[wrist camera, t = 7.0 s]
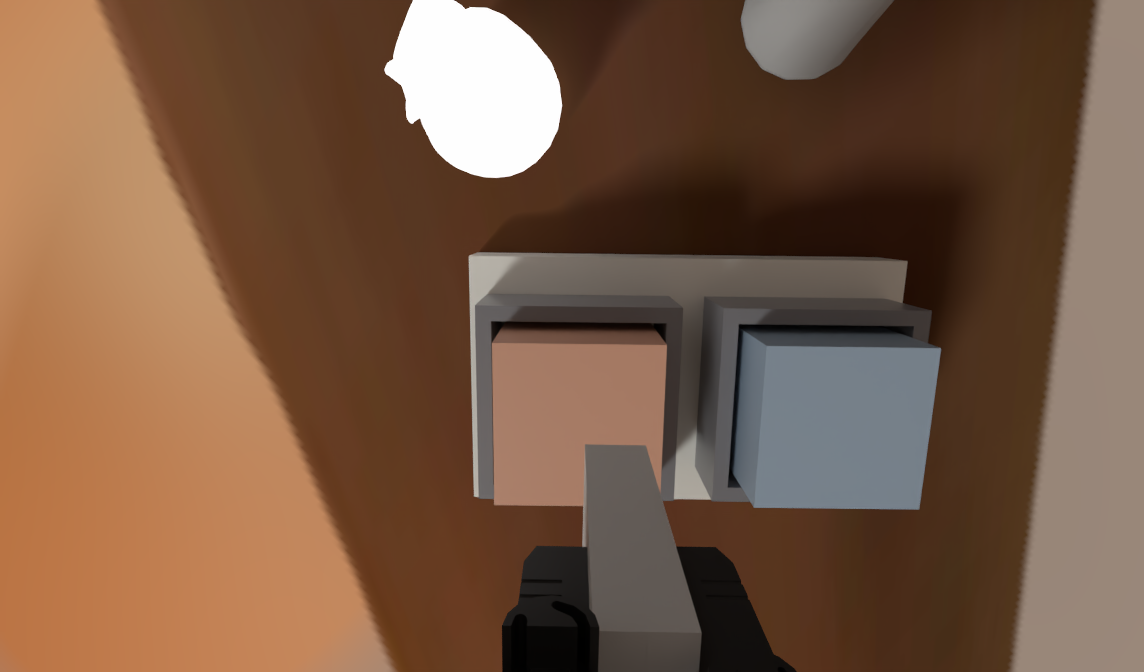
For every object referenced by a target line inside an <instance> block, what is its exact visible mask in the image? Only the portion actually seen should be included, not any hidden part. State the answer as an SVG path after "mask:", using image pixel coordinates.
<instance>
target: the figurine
mask: <svg viewBox="0 0 1144 672" xmlns="http://www.w3.org/2000/svg"><path fill="white" fill-rule="evenodd" d="M393 57H394V59H393V60H391V61H390V62H388V63H387V65H386V67H385V72H386V74H387V75H389V76H390V77H391V78H393V79H394V80H395V81H396V82H398V83H399V84H400V85H402V88H403V91H404V94H405V97H406V116H407V119H408V121H409V122H410V123H412V124H413V123H414V121H416V120H417V119H419V118H420V119H421V122H422V125H423V127H424V129H425V131H426V133H427V135H428V137H429V139H430V141H431V143H432V145H433V147H434V148H435V150H436V151H437V152H438V153H439V154H440V155H441V156H442V157H443V158H444V159H445V160H446V161H448V162H449V163H450V164H452V165H453V166H455V167H456V168H458V169H461V170H463V171H465V172H468V173H470V174H474V175H478V176H482V177H495V178H498V177H506V176H512V175H514V174H517V173H520V172H522V171H524V170H526V169H527V168H528V167H530V166H531V165H533V164H534V163H535V162H537V161H538V160H539V159H540V157H541V156H542V155H543V154H544V153H545V151H546V150H547V149H548V148H549V147H550V145H551V143H552V141H553V138H554V136H555V134H556V132H557V130H558V126H559V120H560V114H561V108H562V102H561V94H560V86H559V81H558V79H557V76H556V74H555V71H554V68H553V66H552V63H551V62H550V60H549V59H548V58H547V56H546V55H545V54H544V53H543V51H542V50H541V49H540V48H539V47H538V45H537V44H536V43H535V42H534V41H533V40H532V39H531V37H530V36H529V35H527V34H526V33H525V32H524V31H523V30H522V29H521V28H519V27H518V26H517V25H516V24H514V23H513V22H512V21H511V20H509V19H508V18H507V17H506V16H504V15H503V14H501V13H498V12H496V11H493V10H491V9H488V8H476V7H470V8H468V9H465V8H464V7H463V6H462V5H460V4H459V3H457V2H456V1H454V0H413V2H412V4H411V6H410V8H409V11H408V13H407V16H406V19H405V21H404V24H403V27H402V29H401V32H400V35H399V38H398V41H397V44H396V48H395V51H394V56H393Z"/></svg>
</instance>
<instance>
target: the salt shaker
mask: <svg viewBox="0 0 1144 672" xmlns="http://www.w3.org/2000/svg"><path fill="white" fill-rule="evenodd" d="M893 1H894V0H745V3H744V8H743V12H742V16H741V25H742V30H743V35H744V40H745V45H746V48H747V49H748V51H749V52H750V53H751V55H752V56H753V58H754V59H755V60H756V62H757V63H758V65H759V66H760V67H761V69H763V70H765V71H767V72H769V73H772V74H774V75H776V76H778V77H780V78H782V79H816V78H817V77H819V76H821V75H823V74H824V73H826V72H828V71H830V70H832V69H833V68H835V67H837V66H839V65H840V64H841V63H842V62H843V61H844V59H845V58H846V57H847V56H848V54H849V53H850V52H851V51H852V50H853V48H854V47H855V46H856V45H857V43H858V42H859V41H860V40H861V39H862V37H863V36H864V35H865V34H866V33H867V32H868V30H869V29H870V28H871V27H872V26H873V25H874V23H875V22H876V21H877V20H878V19H879V18H880V16H881V15H882V14H883V13H884V12H885V11H886V9H887V8H888V7H889V6H890V5H891V3H892V2H893Z"/></svg>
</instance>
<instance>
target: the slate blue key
mask: <svg viewBox="0 0 1144 672" xmlns="http://www.w3.org/2000/svg"><path fill="white" fill-rule="evenodd" d="M940 353H941V348H939V347H937V346H934V345H931V344H928V343H925V342H923V341H920V340H917V339H914V338H911V337H909V336H906V335H903V334H900V333H897V332H895V331H892V330H889V329H886V328H883V327H880V326H854V325H770V324H739V329H738V343H737V358H736V373H735V387H734V402H733V417H732V431H731V446H730V461H729V468H730V470H731V471H732V473H733V475H734V476H735V478H736V479H737V481H738V483H739V484H740V486H741V487H742V489H743V491H744V492H745V494H746V495H747V497H748V499H749V500H750V502H751V503H752V505H753V507H754V508H842V509H919V506H920V499H921V492H922V484H923V477H924V470H925V463H926V455H927V448H928V441H929V433H930V426H931V419H932V411H933V404H934V397H935V390H936V382H937V375H938V368H939V360H940Z"/></svg>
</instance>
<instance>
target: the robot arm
mask: <svg viewBox="0 0 1144 672" xmlns="http://www.w3.org/2000/svg"><path fill="white" fill-rule="evenodd" d="M502 665H503V672H796V670H795V669H794V668H793V667H792V666H790V665H789V664H788V663H786V662H785V661H784V660H782V659H781V658H780V657H778V656H776V655H774V654H773V652H772V650H771V648H770V645H769V643H768V641H767V639H766V636H765V634H764V632H763V630H762V627H761V625H760V623H759V620H758V618H757V616H756V614H755V611H754V609H753V607H752V605H751V602H750V600H748V596H747V593H746V591H745V589H744V587H743V585H741V580H740V578H739V575H738V573H737V571H736V569H735V566H734V564H733V563H732V562H731V561H730V560H729V559H728V558H727V557H726V556H725V555H724V554H722V553H721V552H720V551H719V550H718V549H717V548H716V547H676V545H675V542H674V538H673V535H672V532H671V528H670V525H669V521H668V518H667V515H666V511H665V508H664V505H663V501H662V498H661V495H660V491H659V488H658V485H657V481H656V478H655V474H654V471H653V468H652V464H651V461H650V458H649V454H648V451H647V448H646V445H592V444H585V460H584V503H583V547H562V546H536V548H535V549H534V550H533V551H532V552H531V554H530V555H529V556H528V557H527V558H526V560H525V561H524V566H523V573H522V582H521V587H520V595H519V601H518V605H517V606H516V607H514V608H513V609H512V610H511V611H510V612H509V613H508V614H507V616H506V618H505V620H504V623H503V625H502Z"/></svg>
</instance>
